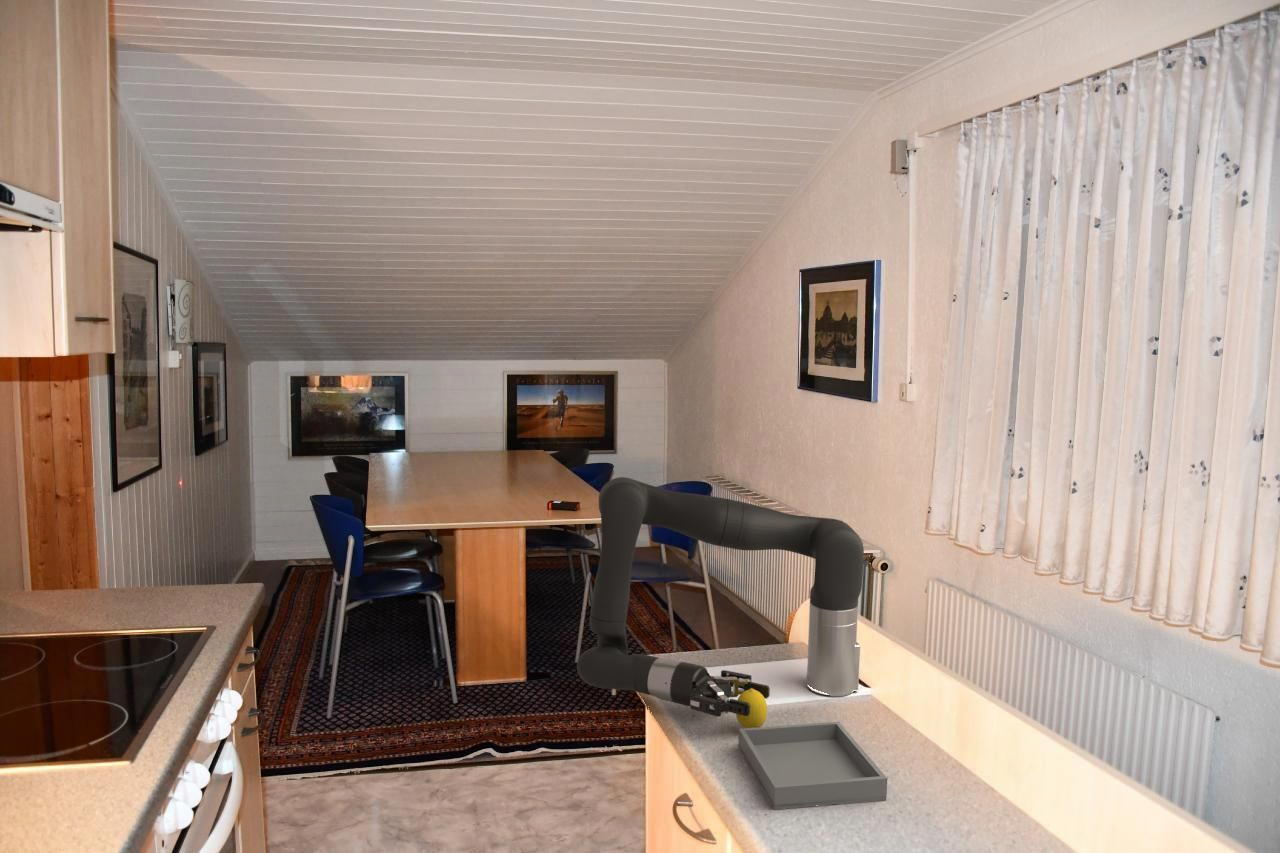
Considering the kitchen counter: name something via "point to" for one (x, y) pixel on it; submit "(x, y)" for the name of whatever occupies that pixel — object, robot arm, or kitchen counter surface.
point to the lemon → (753, 709)
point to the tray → (811, 765)
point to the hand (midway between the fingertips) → (759, 701)
